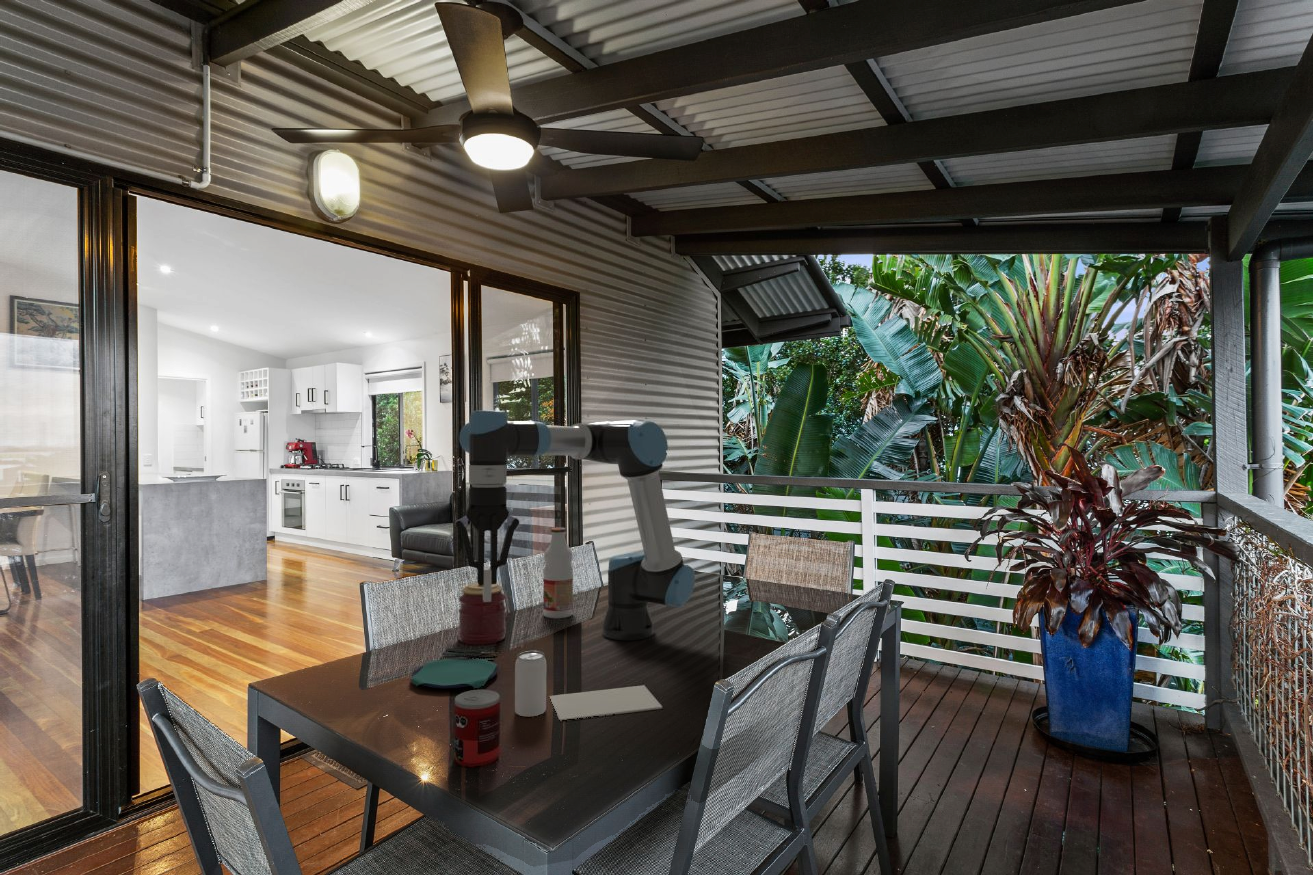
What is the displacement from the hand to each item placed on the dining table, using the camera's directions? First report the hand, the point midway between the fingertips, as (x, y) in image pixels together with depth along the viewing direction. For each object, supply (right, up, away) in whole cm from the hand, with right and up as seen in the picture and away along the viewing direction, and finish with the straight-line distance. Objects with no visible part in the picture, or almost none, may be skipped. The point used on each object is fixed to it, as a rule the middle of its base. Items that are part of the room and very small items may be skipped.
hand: (486, 600), depth 141 cm
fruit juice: (+3, -24, +80) cm, 83 cm away
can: (+8, -24, +3) cm, 26 cm away
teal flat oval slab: (-13, -25, +28) cm, 39 cm away
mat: (+24, -24, +8) cm, 35 cm away
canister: (-15, -24, +54) cm, 61 cm away
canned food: (+3, -25, -17) cm, 30 cm away
